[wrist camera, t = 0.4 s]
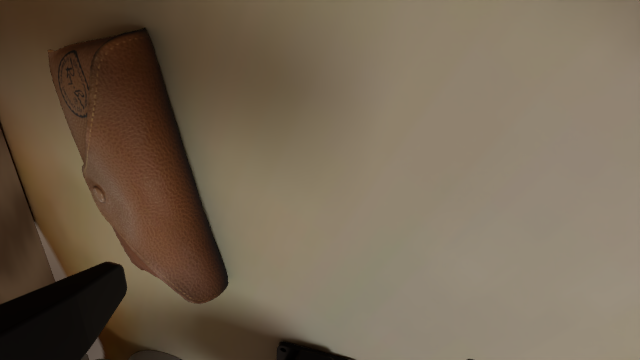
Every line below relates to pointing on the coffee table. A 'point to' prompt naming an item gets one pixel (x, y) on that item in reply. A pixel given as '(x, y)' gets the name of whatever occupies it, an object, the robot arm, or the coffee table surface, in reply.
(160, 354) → the coffee mug
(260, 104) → the coffee table surface
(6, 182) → the door
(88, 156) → the sunglasses case
